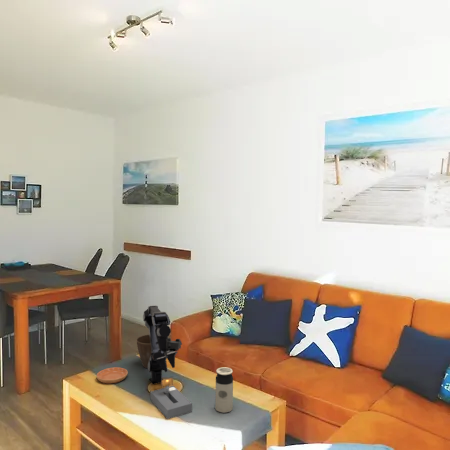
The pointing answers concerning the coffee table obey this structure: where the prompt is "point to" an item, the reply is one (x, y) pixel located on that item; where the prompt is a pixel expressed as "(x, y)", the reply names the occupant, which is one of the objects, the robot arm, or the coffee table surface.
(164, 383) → the lever handle
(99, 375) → the saucer
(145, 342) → the plant pot
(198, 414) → the coffee table surface
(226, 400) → the travel mug
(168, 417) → the block
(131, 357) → the coffee table surface
